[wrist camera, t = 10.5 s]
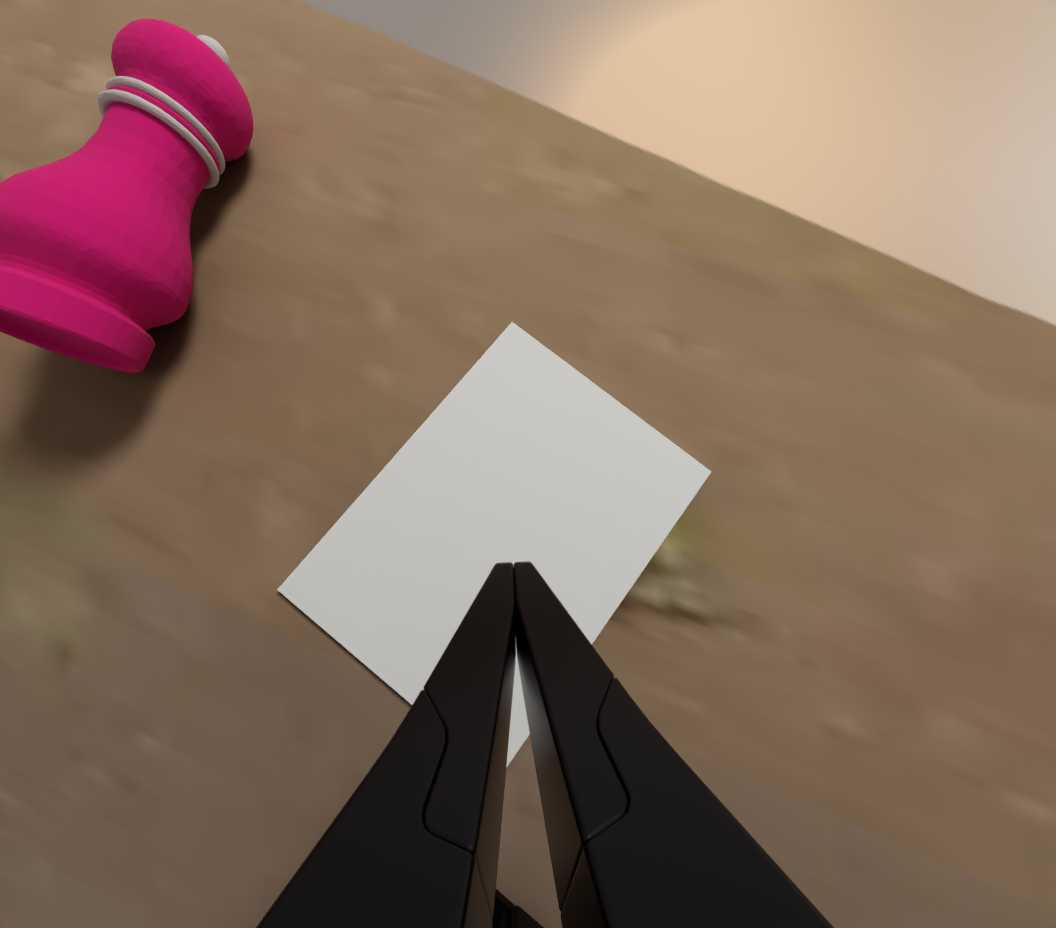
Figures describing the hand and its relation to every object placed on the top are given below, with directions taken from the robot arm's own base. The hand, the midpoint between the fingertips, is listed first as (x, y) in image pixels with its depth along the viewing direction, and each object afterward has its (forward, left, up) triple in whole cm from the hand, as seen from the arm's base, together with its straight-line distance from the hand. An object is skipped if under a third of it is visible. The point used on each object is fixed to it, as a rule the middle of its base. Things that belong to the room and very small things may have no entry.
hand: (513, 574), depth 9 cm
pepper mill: (-6, +23, -9) cm, 26 cm away
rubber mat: (+1, +1, -13) cm, 13 cm away
